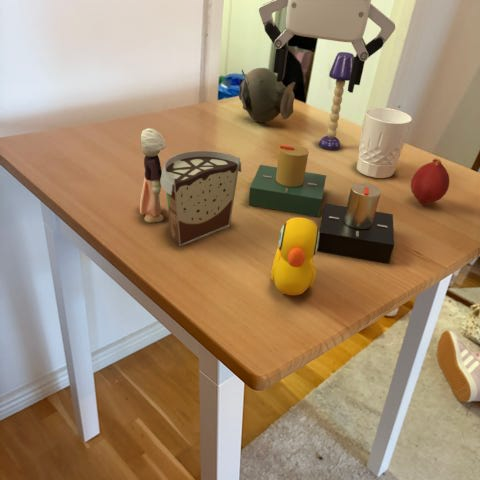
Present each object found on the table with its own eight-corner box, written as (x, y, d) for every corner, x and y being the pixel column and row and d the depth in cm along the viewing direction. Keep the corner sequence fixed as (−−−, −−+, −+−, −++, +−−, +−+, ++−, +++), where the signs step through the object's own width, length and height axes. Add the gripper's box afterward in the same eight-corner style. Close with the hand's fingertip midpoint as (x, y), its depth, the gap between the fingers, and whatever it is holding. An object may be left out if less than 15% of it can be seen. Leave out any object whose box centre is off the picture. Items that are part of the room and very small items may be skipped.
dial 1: (304, 177, 84) (310, 144, 81) (301, 188, 81) (307, 155, 78) (277, 172, 85) (282, 140, 82) (273, 184, 82) (278, 150, 78)
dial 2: (344, 213, 76) (352, 178, 73) (372, 217, 76) (381, 183, 72) (343, 226, 73) (351, 191, 69) (372, 231, 72) (382, 196, 69)
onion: (412, 193, 90) (427, 147, 85) (445, 204, 88) (462, 158, 83) (400, 204, 86) (414, 157, 81) (433, 216, 84) (450, 169, 79)
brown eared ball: (273, 135, 106) (280, 80, 100) (224, 119, 111) (227, 66, 104) (297, 122, 113) (304, 71, 107) (249, 108, 118) (254, 58, 111)
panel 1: (323, 192, 88) (326, 174, 86) (318, 217, 81) (322, 198, 79) (258, 181, 89) (260, 163, 87) (248, 205, 82) (250, 186, 80)
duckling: (309, 321, 61) (325, 246, 55) (263, 313, 61) (274, 239, 55) (314, 267, 70) (328, 198, 63) (273, 261, 70) (283, 192, 64)
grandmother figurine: (133, 206, 79) (129, 120, 71) (159, 203, 80) (157, 118, 72) (146, 231, 73) (143, 142, 65) (173, 228, 75) (173, 139, 67)
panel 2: (387, 232, 79) (393, 212, 77) (388, 263, 72) (394, 243, 70) (321, 220, 80) (325, 201, 78) (316, 251, 73) (320, 230, 71)
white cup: (364, 158, 101) (377, 104, 94) (402, 171, 97) (418, 116, 91) (345, 170, 96) (357, 114, 89) (385, 184, 92) (401, 126, 86)
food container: (208, 207, 81) (212, 142, 74) (237, 223, 77) (242, 157, 71) (142, 231, 73) (140, 162, 67) (170, 250, 70) (170, 179, 64)
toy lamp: (312, 143, 104) (327, 51, 94) (327, 139, 107) (344, 49, 96) (330, 152, 102) (348, 58, 91) (345, 147, 104) (365, 55, 94)
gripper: (414, -64, 63) (378, 86, 74) (272, -81, 65) (257, 68, 76) (419, -60, 58) (379, 102, 68) (263, -79, 59) (248, 82, 70)
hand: (315, 84), depth 72 cm, fingers open, 9 cm apart
